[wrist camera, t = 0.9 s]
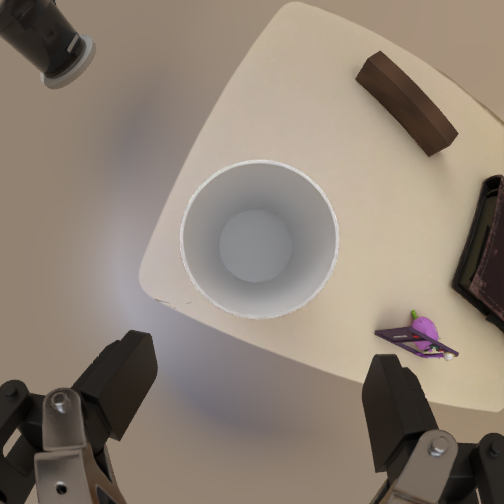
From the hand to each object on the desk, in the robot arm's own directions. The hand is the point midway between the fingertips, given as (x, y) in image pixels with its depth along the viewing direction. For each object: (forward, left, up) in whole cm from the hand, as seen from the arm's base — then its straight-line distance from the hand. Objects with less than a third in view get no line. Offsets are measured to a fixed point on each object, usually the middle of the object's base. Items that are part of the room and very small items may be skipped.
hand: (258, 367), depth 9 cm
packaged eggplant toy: (+13, +15, -21) cm, 29 cm away
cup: (-4, +2, -21) cm, 21 cm away
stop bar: (-13, +27, -21) cm, 36 cm away
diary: (+16, +37, -21) cm, 45 cm away
